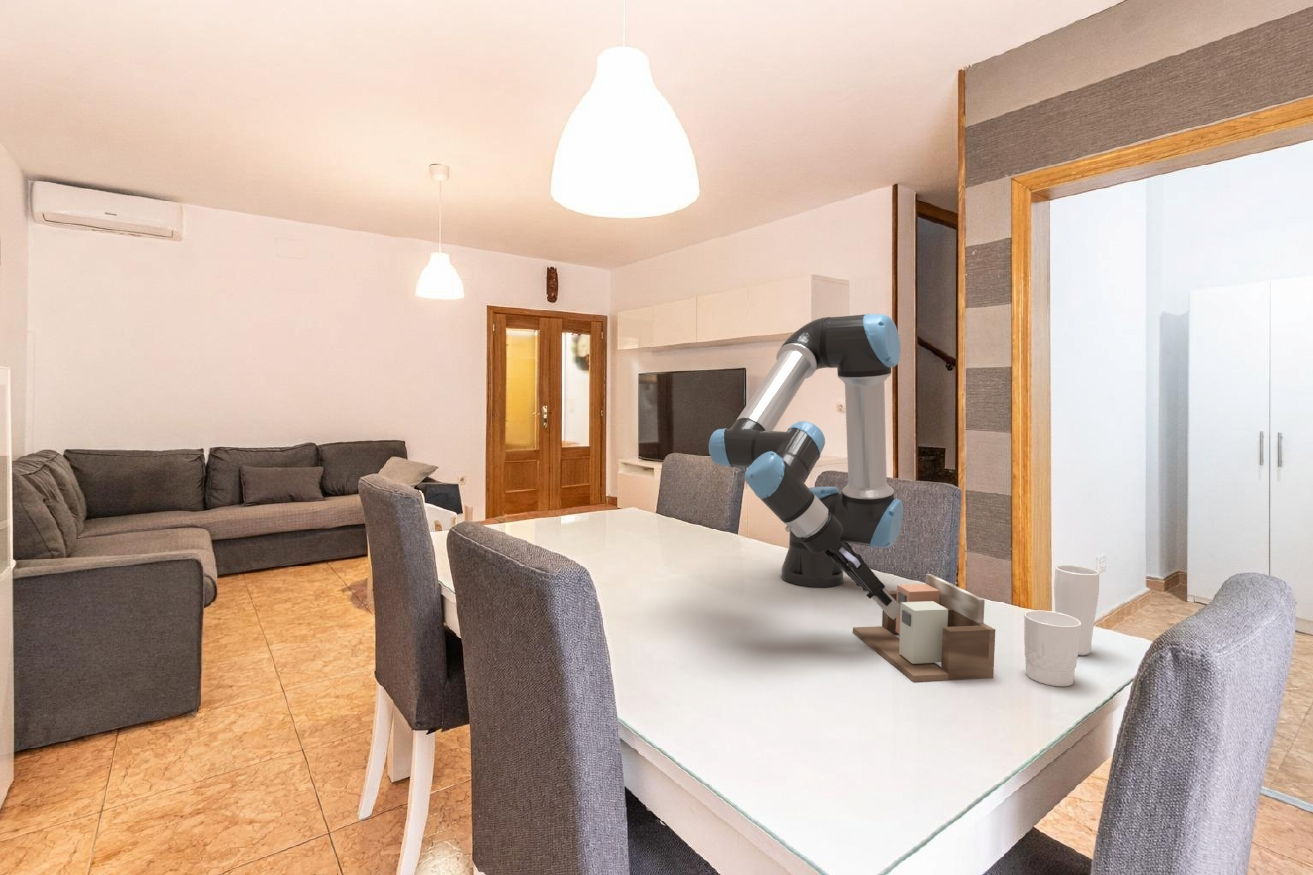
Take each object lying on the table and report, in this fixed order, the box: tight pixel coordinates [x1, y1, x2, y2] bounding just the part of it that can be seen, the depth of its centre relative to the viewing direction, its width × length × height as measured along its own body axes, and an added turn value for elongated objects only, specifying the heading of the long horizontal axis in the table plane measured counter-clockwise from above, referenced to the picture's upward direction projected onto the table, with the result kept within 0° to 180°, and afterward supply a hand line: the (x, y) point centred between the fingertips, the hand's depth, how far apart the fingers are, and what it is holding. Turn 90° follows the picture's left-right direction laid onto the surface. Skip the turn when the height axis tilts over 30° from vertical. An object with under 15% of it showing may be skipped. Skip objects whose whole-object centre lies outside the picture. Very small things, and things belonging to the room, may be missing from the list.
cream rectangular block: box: [899, 601, 948, 664], centre depth 110 cm, size 4×6×9 cm
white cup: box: [1023, 609, 1081, 687], centre depth 105 cm, size 8×8×10 cm
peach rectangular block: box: [896, 583, 940, 635], centre depth 120 cm, size 4×6×9 cm
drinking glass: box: [1053, 564, 1100, 656], centre depth 117 cm, size 7×7×15 cm
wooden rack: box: [852, 573, 996, 683], centre depth 115 cm, size 22×14×12 cm, turn 8°
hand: (896, 613), depth 119 cm, fingers closed
